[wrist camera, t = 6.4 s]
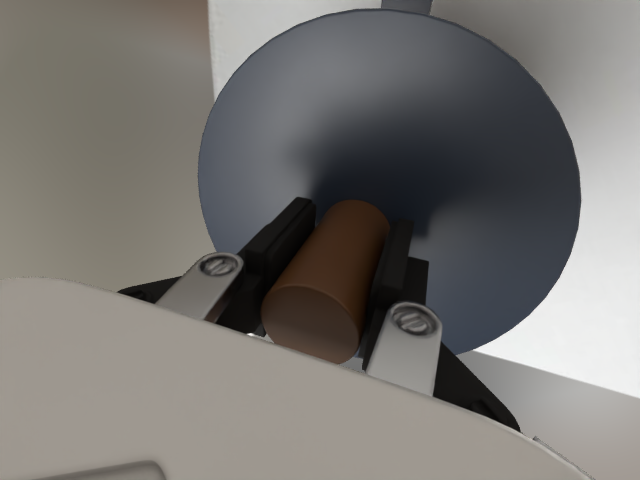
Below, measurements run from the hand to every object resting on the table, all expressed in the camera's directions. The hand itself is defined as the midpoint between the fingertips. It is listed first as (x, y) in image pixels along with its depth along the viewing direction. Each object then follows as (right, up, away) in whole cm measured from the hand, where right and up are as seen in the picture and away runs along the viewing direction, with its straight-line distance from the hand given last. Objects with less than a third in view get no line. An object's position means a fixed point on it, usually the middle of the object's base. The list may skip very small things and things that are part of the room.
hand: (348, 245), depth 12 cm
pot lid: (+1, +1, +1) cm, 2 cm away
